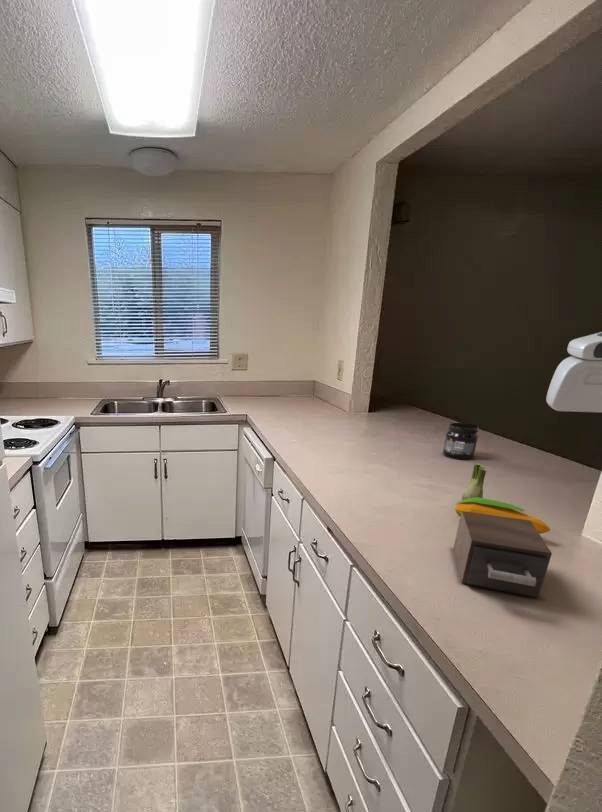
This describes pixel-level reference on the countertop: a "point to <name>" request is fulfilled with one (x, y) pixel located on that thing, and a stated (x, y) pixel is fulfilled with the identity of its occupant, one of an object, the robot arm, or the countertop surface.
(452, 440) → the supplement container
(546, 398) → the robot arm
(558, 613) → the countertop surface
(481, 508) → the corn
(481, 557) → the drawer
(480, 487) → the fennel bulb
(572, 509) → the countertop surface
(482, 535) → the cabinet
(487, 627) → the countertop surface
